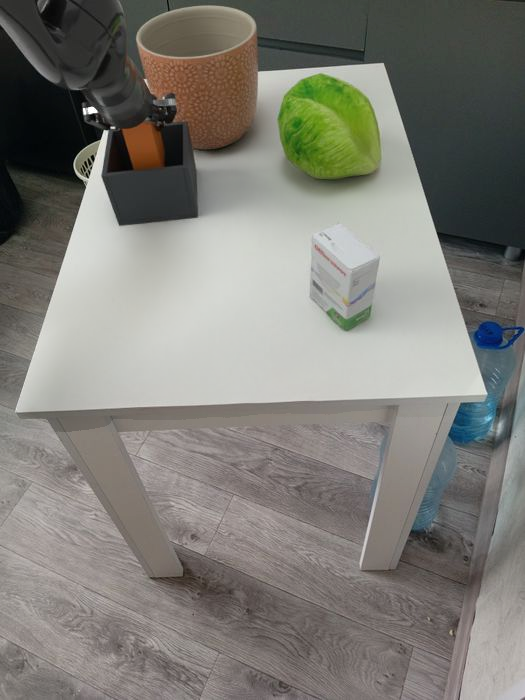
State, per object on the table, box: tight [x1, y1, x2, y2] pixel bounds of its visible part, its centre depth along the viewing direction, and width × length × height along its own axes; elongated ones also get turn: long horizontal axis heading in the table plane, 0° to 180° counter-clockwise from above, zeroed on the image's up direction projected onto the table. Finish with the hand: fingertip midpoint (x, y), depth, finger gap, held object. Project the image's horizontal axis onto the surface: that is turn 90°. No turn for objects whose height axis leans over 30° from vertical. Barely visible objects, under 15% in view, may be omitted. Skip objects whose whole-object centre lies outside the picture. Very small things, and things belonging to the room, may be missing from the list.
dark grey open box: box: [100, 121, 199, 226], centre depth 88 cm, size 14×14×10 cm
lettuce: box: [277, 72, 382, 180], centre depth 88 cm, size 17×20×16 cm
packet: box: [122, 123, 165, 170], centre depth 83 cm, size 4×8×10 cm, turn 5°
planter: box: [135, 5, 259, 150], centre depth 95 cm, size 21×21×19 cm
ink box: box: [309, 222, 381, 332], centre depth 69 cm, size 8×5×12 cm, turn 33°
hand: (143, 126), depth 83 cm, fingers closed on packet, 4 cm apart
